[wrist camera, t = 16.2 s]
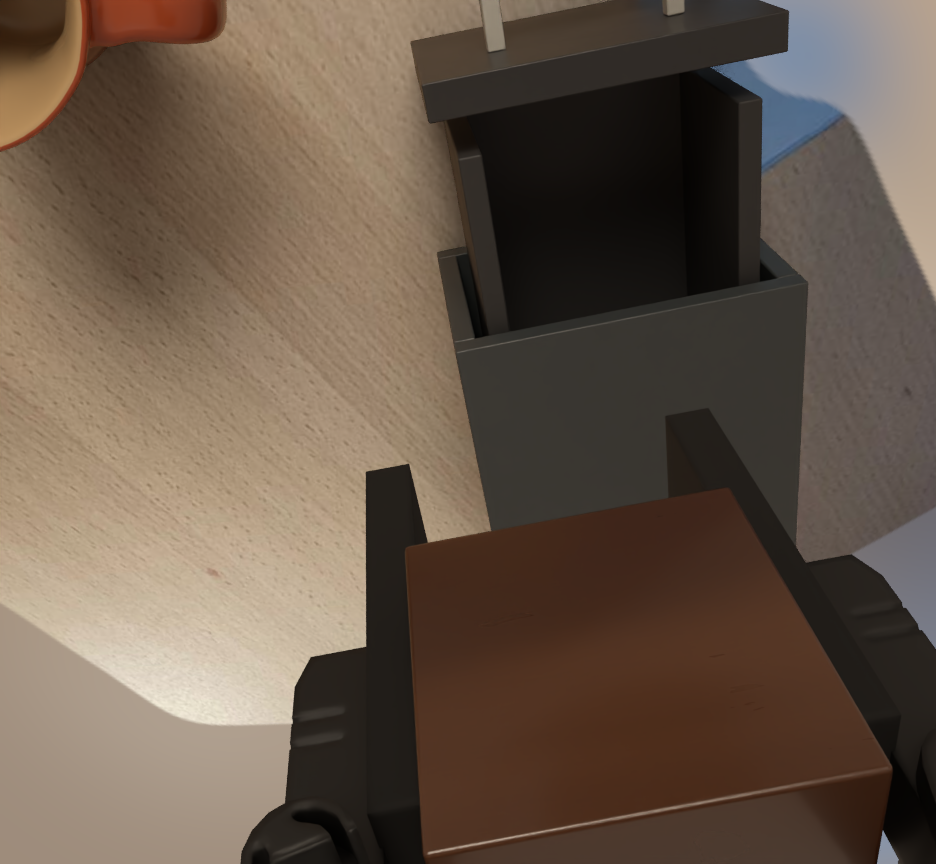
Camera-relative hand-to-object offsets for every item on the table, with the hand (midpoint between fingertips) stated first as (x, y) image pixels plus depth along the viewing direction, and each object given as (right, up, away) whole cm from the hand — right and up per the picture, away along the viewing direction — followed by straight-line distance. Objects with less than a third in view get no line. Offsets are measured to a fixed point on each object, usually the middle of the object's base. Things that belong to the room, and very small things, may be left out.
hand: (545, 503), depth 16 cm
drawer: (+3, +14, +20) cm, 24 cm away
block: (0, -2, -3) cm, 3 cm away
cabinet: (+5, +4, +27) cm, 28 cm away
